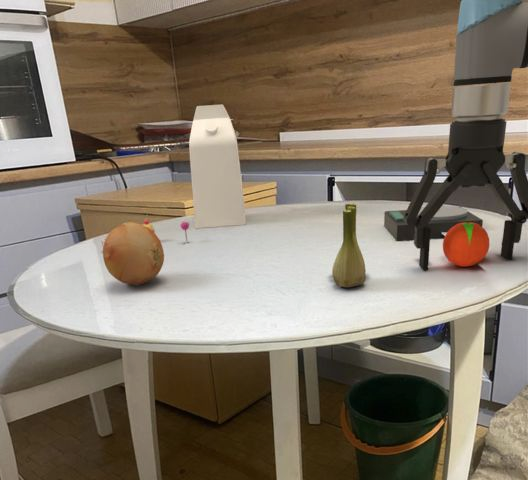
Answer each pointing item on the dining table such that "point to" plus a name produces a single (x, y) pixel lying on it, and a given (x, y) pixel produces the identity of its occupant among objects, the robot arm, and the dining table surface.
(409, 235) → the scale
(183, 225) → the candy
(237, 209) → the milk
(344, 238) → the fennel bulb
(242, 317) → the dining table surface
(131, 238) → the onion
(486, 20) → the robot arm
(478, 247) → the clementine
